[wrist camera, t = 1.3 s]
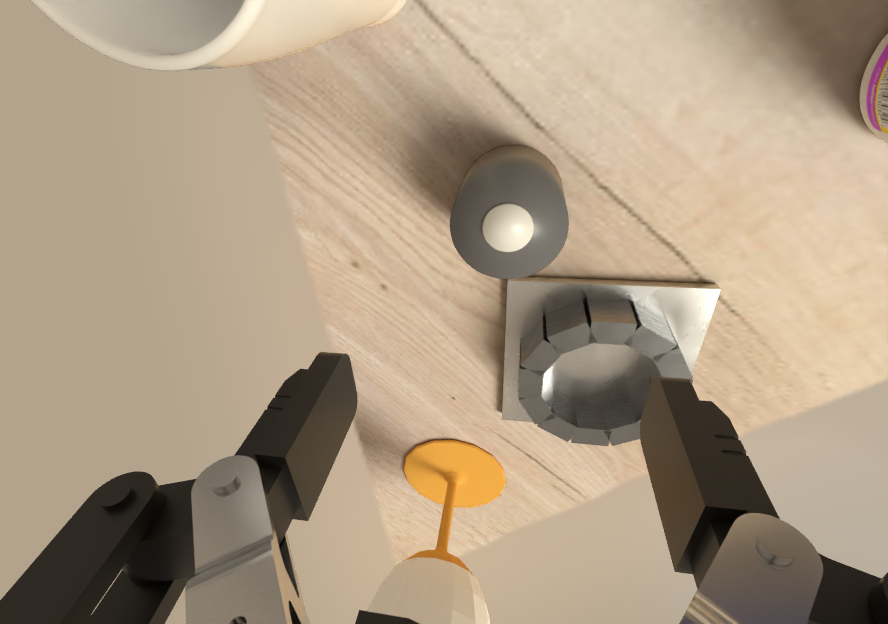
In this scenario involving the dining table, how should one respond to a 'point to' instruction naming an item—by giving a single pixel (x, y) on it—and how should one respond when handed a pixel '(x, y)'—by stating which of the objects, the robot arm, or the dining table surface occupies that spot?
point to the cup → (442, 537)
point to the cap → (510, 213)
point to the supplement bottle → (876, 92)
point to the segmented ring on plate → (597, 351)
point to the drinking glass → (210, 28)
